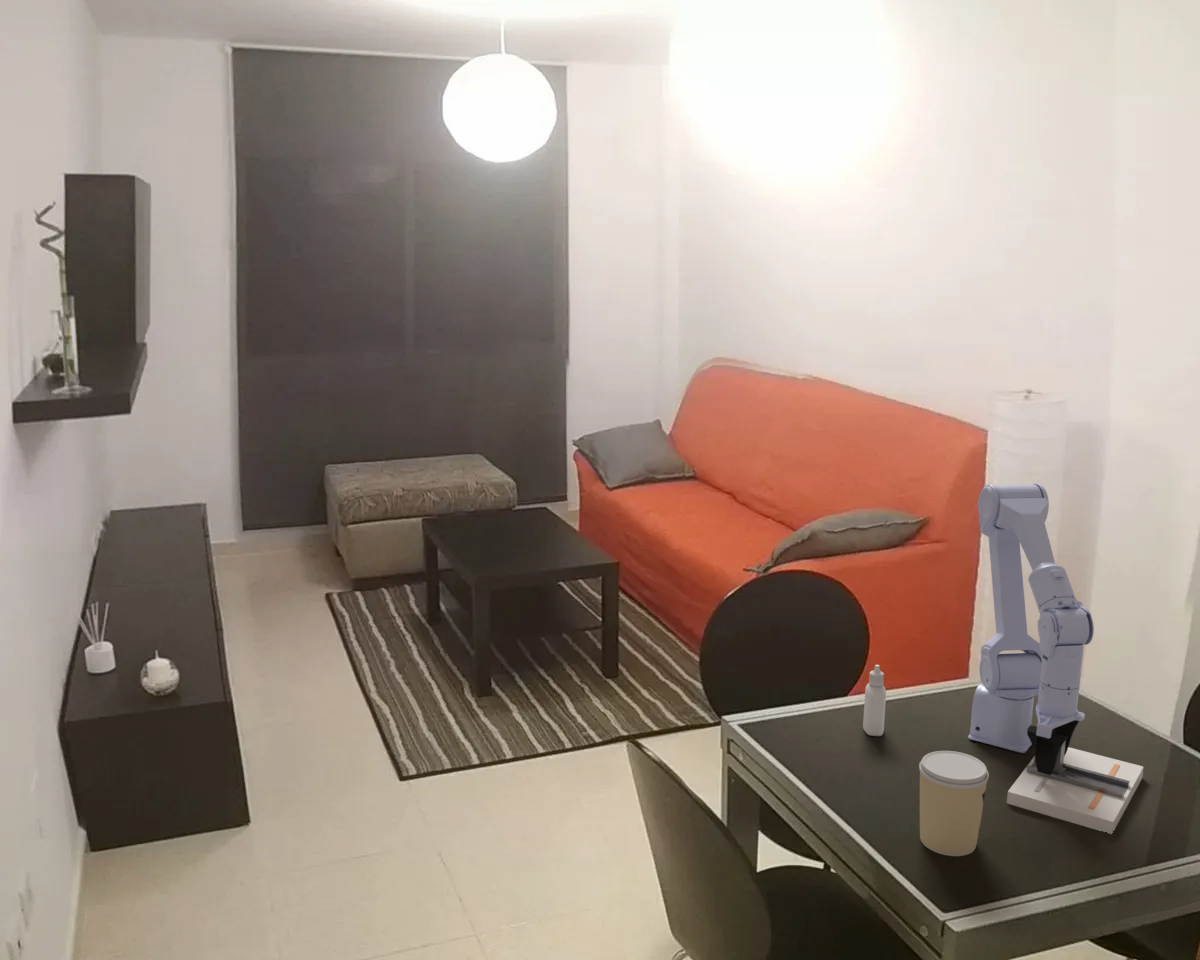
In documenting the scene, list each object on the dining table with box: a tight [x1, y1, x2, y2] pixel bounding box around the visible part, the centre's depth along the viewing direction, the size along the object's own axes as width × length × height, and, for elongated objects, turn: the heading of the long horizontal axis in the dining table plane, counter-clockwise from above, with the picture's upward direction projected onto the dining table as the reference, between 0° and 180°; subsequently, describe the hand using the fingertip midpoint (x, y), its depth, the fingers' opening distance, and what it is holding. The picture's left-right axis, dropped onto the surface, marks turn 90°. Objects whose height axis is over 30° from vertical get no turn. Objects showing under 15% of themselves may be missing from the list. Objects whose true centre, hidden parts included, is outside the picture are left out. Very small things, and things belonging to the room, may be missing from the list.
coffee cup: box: [918, 750, 990, 857], centre depth 159 cm, size 9×9×12 cm
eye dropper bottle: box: [862, 664, 887, 737], centre depth 194 cm, size 4×6×12 cm
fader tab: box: [1053, 741, 1066, 775], centre depth 176 cm, size 4×2×6 cm, turn 54°
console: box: [1006, 747, 1144, 835], centre depth 175 cm, size 15×21×3 cm
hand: (1051, 763), depth 177 cm, fingers open, 7 cm apart
